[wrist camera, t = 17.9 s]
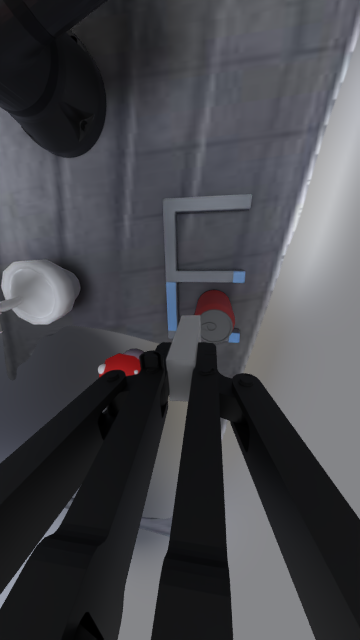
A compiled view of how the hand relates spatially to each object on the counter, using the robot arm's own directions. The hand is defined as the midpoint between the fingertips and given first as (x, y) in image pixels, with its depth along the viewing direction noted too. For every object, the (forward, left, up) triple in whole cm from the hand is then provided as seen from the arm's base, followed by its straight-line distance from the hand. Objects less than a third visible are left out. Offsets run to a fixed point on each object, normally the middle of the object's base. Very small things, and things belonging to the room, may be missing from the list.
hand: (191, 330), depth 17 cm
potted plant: (+1, -29, -25) cm, 39 cm away
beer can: (+5, +2, -25) cm, 26 cm away
